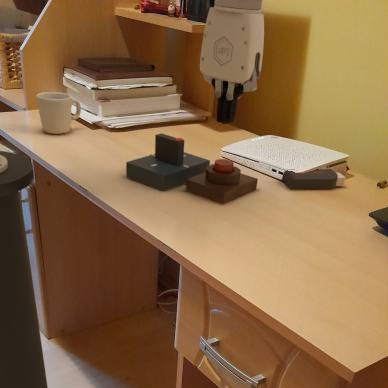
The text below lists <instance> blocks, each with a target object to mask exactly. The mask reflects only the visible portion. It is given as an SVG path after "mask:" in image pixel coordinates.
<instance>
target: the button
mask: <svg viewBox="0 0 388 388" xmlns="http://www.w3.org/2000/svg"><path fill="white" fill-rule="evenodd" d="M233 166H235V163H234V161H233V160H230V159H227V158H220V159H216V160H214V171H215V172H218V173H232V172H233Z"/></svg>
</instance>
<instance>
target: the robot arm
mask: <svg viewBox="0 0 388 388" xmlns="http://www.w3.org/2000/svg"><path fill="white" fill-rule="evenodd" d="M262 6H263V0H214V5H213V6H211V7H209V10H208V13H207V17H206V21H205V25H204V30H203V35H202V41H201V50H200V59H199V71H200V73H201V74H202V77H203V78H202V79H203V80H204V81H205V82H206V83H208V84H210V85H211V86H212V88H213V89H214V92H215V93H214V95H215V97H216V98H217V107H216V123H218V124H223V125H227V124H230V123H233V122H234V121H235V117H236V113H237V105H238V99H239V100H240V99H241V97H242V95H244V93H248V92H249V93H250V92H255V91H257V89H258V80H259V78H260V76H261V72H262V66H263V56H264V47H265V46H264V45H265V15H264V13H263V12H262ZM7 167H8V162H7V159H6V158H5V157H3V156H2V155H0V173H2V172H4V171H5V170H6V169H7Z"/></svg>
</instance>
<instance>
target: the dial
mask: <svg viewBox="0 0 388 388" xmlns="http://www.w3.org/2000/svg"><path fill="white" fill-rule="evenodd" d="M154 136H155V137H154V148H155V149H154V154H155V158H157V159H160V160H163V161H166V162H169V163H172V164H175V165H180V164H183V157H184V152H185V140H184V138H182V137H175V136H172V135H169V134H165V133H162V132H161V133H157V134H155V135H154Z"/></svg>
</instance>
